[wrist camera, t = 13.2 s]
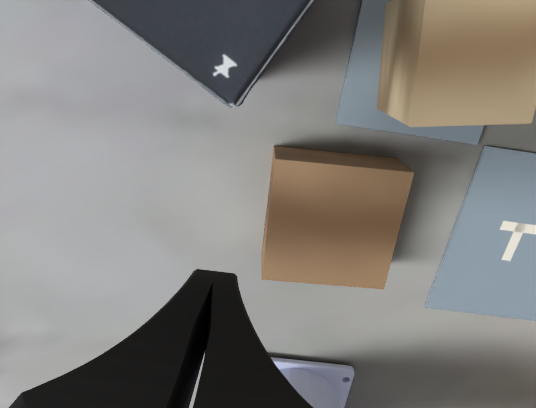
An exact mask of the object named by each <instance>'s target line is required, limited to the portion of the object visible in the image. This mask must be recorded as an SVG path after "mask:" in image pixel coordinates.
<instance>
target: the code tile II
mask: <svg viewBox="0 0 536 408" xmlns="http://www.w3.org/2000/svg"><path fill="white" fill-rule="evenodd" d="M389 1H392V0H362V3H361V8H360V12H359V17H358V22H357V26H356V31H355V35H354V40H353V45H352V49H351V54H350V59H349V63H348V68H347V73H346V77H345V82H344V86H343V91H342V96H341V100H340V105H339V110H338V114H337V119H336V124H341V125H348V126H354V127H361V128H368V129H374V130H381V131H388V132H394V133H401V134H408V135H414V136H421V137H428V138H434V139H441V140H448V141H454V142H461V143H468V144H474V145H478V142H479V139H480V136H481V134H482V131H483V128H484V125H468V126H432V127H409V126H407V125H406V124H404V123H402V122H400V121H398V120H397V119H395V118H393V117H391V116H389V115H387V114H386V113H384V112H382V111H380V110H378V109H377V100H378V88H379V76H380V64H381V51H382V39H383V27H384V14H385V3H386V2H389Z"/></svg>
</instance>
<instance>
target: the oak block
mask: <svg viewBox="0 0 536 408" xmlns="http://www.w3.org/2000/svg"><path fill="white" fill-rule="evenodd" d="M535 108H536V0H392V1H389V2H386V3H385V14H384V27H383V39H382V51H381V64H380V76H379V88H378V100H377V109H378V110H380V111H382V112H384V113H386V114H387V115H389V116H391V117H393V118H395V119H397V120H398V121H400V122H402V123H404V124H406V125H407V126H409V127H432V126H468V125H503V124H532V121H533V116H534V112H535Z"/></svg>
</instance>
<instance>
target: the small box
mask: <svg viewBox="0 0 536 408" xmlns="http://www.w3.org/2000/svg"><path fill="white" fill-rule="evenodd" d="M88 1H90V2H91V3H92V4H94V5H95V6H97V7H98V8H99V9H101V10H102V11H103V12H105V13H106V14H108V15H109V16H110V17H111V18H113V19H114V20H115V21H117V22H118V23H119V24H120V25H122V26H123V27H124V28H125V29H127V30H128V31H129V32H131V33H132V34H133V35H135V36H136V37H137V38H139V39H140V40H141V41H143V42H144V43H145V44H147V45H148V46H149V47H150V48H151V49H153V50H154V51H155V52H157V53H158V54H159V55H161V56H162V57H163V58H165V59H166V60H167V61H168V62H170V63H171V64H172V65H174V66H175V67H176V68H178V69H179V70H181V71H182V72H183V73H185V74H186V75H187V76H188V77H189V78H191V79H192V80H194V81H196V82H197V83H198V84H199V85H200V86H202V87H203V88H204V89H206V90H207V91H208V92H210V93H211V94H212V95H214V96H215V97H216V98H217V99H219V100H220V101H221V102H223V103H224V104H225V105H227V106H229V107H238V106H240V105H241V104H242V103H243V101H244V99H245V98H246V96H247V95H248V93H249V91H250V90H251V88H252V87H253V86H254V85H255V83H256V82H257V80H258V79H259V78H260V76H261V75H262V73H263V72H264V71H265V69H266V68H267V66H268V65H269V64H270V62H271V61H272V60H273V58H274V57H275V56H276V54H277V53H278V51H279V50H280V48H281V47H282V46H283V44H284V43H285V42H286V40H287V39H288V38H289V36H290V35H291V33H292V32H293V30H294V29H295V28H296V26H297V25H298V23H299V22H300V21H301V19H302V18H303V16H304V15H305V14H306V12H307V11H308V9H309V8H310V7H311V5H312V4H313V3H314V1H315V0H88Z"/></svg>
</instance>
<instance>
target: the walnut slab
mask: <svg viewBox="0 0 536 408" xmlns="http://www.w3.org/2000/svg"><path fill="white" fill-rule="evenodd" d="M413 176H414V172H413V171H412V170H411V169H410V168H408V167H407V166H406V165H405V164H404V163H402V162H401V161H400V160H399V159H398V158H392V157H382V156H372V155H362V154H352V153H342V152H332V151H322V150H312V149H301V148H291V147H281V146H274V149H273V158H272V167H271V176H270V185H269V194H268V203H267V212H266V221H265V229H264V238H263V247H262V280H274V281H287V282H299V283H312V284H325V285H337V286H350V287H362V288H375V289H384V287H385V283H386V279H387V275H388V271H389V268H390V264H391V260H392V256H393V252H394V249H395V245H396V241H397V237H398V233H399V229H400V226H401V222H402V218H403V214H404V210H405V206H406V203H407V199H408V195H409V191H410V187H411V184H412V180H413Z"/></svg>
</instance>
